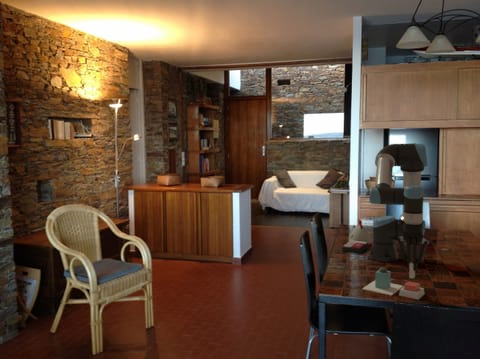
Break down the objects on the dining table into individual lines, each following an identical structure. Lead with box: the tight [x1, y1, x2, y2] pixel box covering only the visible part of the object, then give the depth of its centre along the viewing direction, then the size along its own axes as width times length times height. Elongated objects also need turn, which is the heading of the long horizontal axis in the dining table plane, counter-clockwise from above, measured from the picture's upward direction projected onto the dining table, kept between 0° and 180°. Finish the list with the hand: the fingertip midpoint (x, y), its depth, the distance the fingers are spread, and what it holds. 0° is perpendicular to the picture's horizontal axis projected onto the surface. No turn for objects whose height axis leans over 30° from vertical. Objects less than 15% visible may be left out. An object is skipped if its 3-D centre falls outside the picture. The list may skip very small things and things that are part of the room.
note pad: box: [362, 280, 404, 297], centre depth 197 cm, size 14×13×1 cm
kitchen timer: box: [348, 219, 373, 247], centre depth 277 cm, size 14×14×15 cm
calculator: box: [341, 240, 369, 254], centre depth 265 cm, size 11×4×15 cm
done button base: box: [398, 286, 425, 301], centre depth 188 cm, size 8×8×3 cm
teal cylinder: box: [374, 267, 392, 290], centre depth 197 cm, size 5×5×8 cm
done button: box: [403, 281, 421, 291], centre depth 188 cm, size 5×5×2 cm
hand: (412, 277), depth 187 cm, fingers closed
